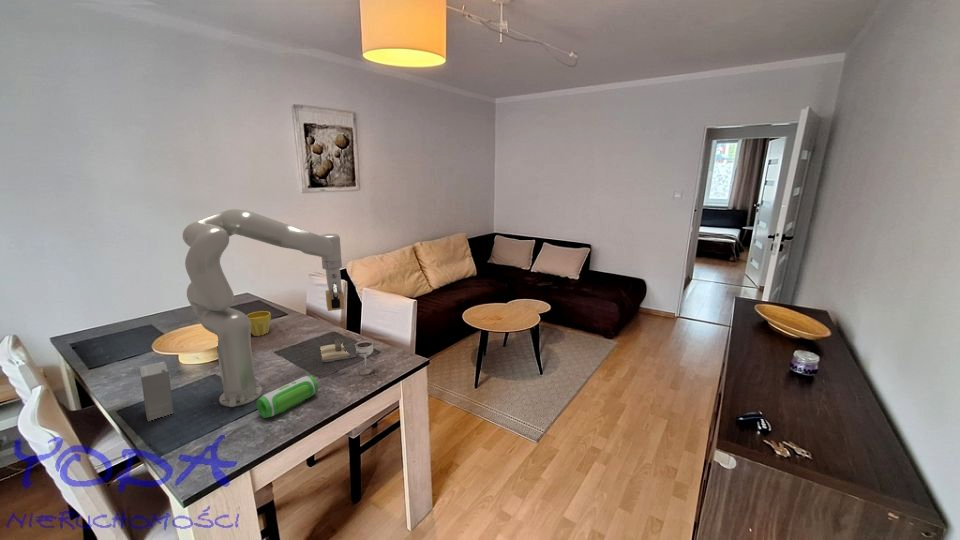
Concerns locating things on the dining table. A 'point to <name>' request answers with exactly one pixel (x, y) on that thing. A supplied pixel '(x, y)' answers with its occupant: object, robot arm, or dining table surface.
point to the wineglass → (364, 349)
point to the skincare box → (156, 390)
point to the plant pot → (259, 322)
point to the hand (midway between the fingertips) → (335, 304)
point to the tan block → (329, 303)
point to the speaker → (286, 396)
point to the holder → (333, 351)
